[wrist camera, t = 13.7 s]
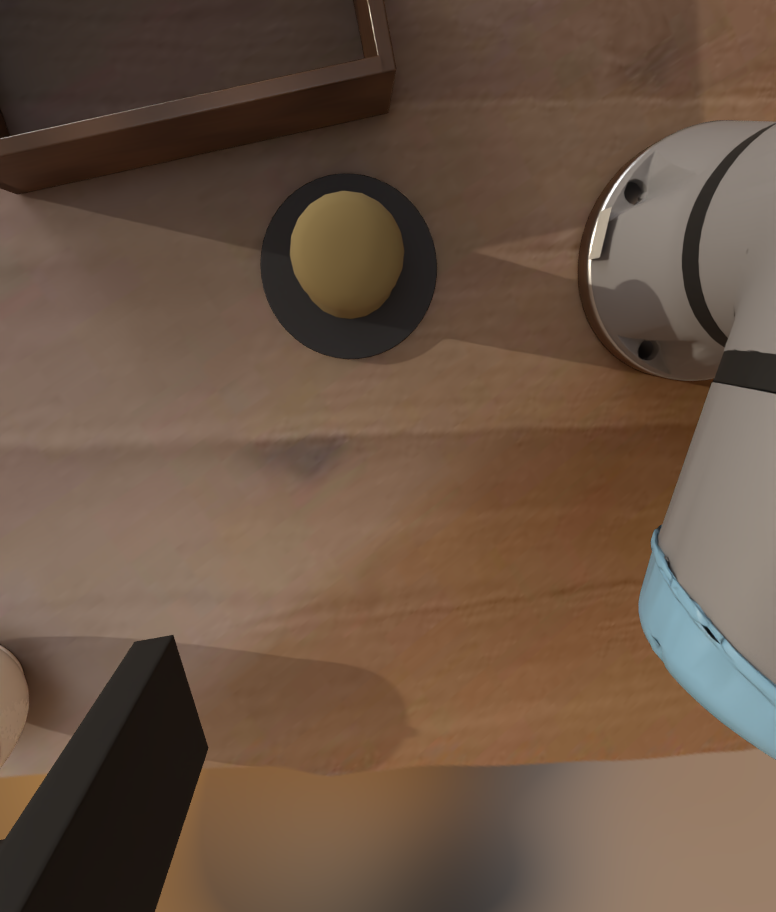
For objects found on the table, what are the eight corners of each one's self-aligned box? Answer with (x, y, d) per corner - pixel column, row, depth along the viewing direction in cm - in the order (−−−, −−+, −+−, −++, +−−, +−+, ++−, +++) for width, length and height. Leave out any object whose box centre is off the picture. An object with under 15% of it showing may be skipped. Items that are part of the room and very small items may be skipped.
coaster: (417, 158, 33) (418, 155, 32) (449, 338, 36) (451, 338, 35) (240, 196, 33) (238, 194, 32) (287, 374, 36) (286, 375, 35)
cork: (408, 233, 34) (434, 197, 23) (382, 330, 35) (395, 337, 24) (312, 204, 33) (293, 152, 22) (289, 304, 34) (262, 300, 24)
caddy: (343, -125, 29) (341, -233, 23) (388, 113, 32) (396, 69, 27) (-67, -36, 29) (-171, -123, 23) (17, 194, 32) (-57, 169, 26)
